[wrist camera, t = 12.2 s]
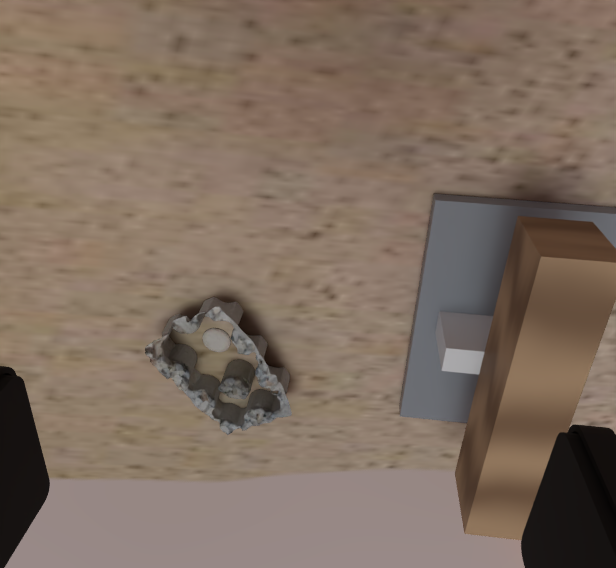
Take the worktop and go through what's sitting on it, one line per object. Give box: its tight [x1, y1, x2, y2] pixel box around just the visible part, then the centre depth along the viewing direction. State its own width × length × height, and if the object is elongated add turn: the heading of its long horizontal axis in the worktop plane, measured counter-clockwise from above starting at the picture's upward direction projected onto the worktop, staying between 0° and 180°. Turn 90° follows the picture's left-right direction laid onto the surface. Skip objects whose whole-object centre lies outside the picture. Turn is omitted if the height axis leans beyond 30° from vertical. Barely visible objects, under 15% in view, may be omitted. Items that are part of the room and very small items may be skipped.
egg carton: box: [145, 297, 291, 435], centre depth 43 cm, size 11×8×4 cm
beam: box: [455, 216, 616, 540], centre depth 34 cm, size 20×4×5 cm, turn 177°
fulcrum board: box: [399, 194, 616, 423], centre depth 38 cm, size 18×12×6 cm, turn 177°
